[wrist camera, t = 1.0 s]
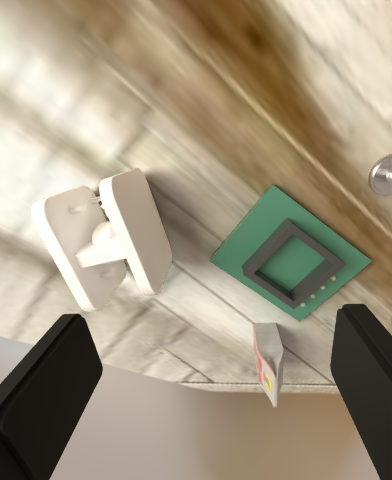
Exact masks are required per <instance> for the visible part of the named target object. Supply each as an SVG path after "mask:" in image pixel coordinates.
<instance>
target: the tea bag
mask: <svg viewBox="0 0 392 480" xmlns="http://www.w3.org/2000/svg"><path fill="white" fill-rule="evenodd" d="M254 354H255V361H256V367H257V374H258V380H259V383H260V385H261V386H262V388H263V389H264V391H265V392H266V394H267V395H268V396H269V398H270V400H271V402H272V404H273V407H275V404H276V407H277V400H278V396H279V392H280V389H281V386H282V383H283V358H284V350H283V346H282V343H281V339H280V336H279V333H278V329H277V326H276V323H254Z"/></svg>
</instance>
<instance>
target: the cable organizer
mask: <svg viewBox="0 0 392 480" xmlns="http://www.w3.org/2000/svg"><path fill="white" fill-rule="evenodd" d="M99 191H100V196H98V197H96V196H95V194H94V193H93V191H92V190H91V189H90V188H89V187H87V186H81V187H78V188H74V189H71V190H69V191H66V192H63V193H60V194H57V195H54V196H51V197H48V198H45V199H42V200H40V201H37V202H35V203H34V204H33V206H32V211H31V213H32V219H33V222H34V224H35V227H36V229H37V230H38V232H39V234H40V236H41V237H42V239H43V241H44V243H45V245H46V246H47V250H49V252H50V254H51V256H52V257H53V259H54V261H55V263H56V264H57V266H58V268H59V270H60V272H61V273H62V275H63V277H64V279H65V281H66V282H67V284H68V286H69V288H70V290H71V291H72V293H73V295H74V297H75V299H76V301H77V302H78V304H79V305H80V307H81V308H82V309H83V310H84V311H86V312H94V311H100V310H103V309H104V308H105V306H106V305H107V303H108V302H109V301H110V299H111V298H112V296H113V295H114V293H115V292H116V290H117V289H118V287H119V286H120V284H121V283H122V282H123V280H124V279H125V277H126V265H125V261H124V259H127V261H128V263H129V266H130V268H131V270H130V271H132V273H133V275H134V277H135V280H136V282H137V284H138V286H139V288H140V290H141V292H142V293H143V294H144V295H145V296H151V295H156V294H159V293H160V291H161V288H162V286H163V283H164V281H165V278H166V276H167V273H168V271H169V268H170V265H171V263H172V252H171V248H170V244H169V242H168V239H167V236H166V233H165V230H164V227H163V225H162V222H161V219H160V216H159V213H158V210H157V208H156V205H155V202H154V199H153V196H152V194H151V191H150V188H149V185H148V182H147V180H146V178H145V176H144V174H143V172H142V171H141V170H140V169H139V168H135V169H132V170H129V171H126V172H123V173H120V174H117V175H115V176H112V177H109V178H106V179H103V180H101V182H100V186H99ZM99 201H101V202H102V205H101V206H100V204H99ZM101 208H102V209H104V210H105V213H106V216H107V217H109V220H110V221H107V220H106V218H105V216H104V213H103V211H102V209H101Z"/></svg>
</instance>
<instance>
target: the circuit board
mask: <svg viewBox="0 0 392 480" xmlns="http://www.w3.org/2000/svg"><path fill="white" fill-rule="evenodd" d="M210 261H211V262H212V263H214V264H215V265H217V266H218V267H220V268H221V269H223V270H224V271H225V272H227V273H228V274H230V275H231V276H233V277H234V278H236V279H237V280H239V281H240V282H242V283H243V284H245V285H246V286H248V287H249V288H251V289H252V290H254V291H255V292H257V293H258V294H259V295H261V296H262V297H264V298H265V299H267V300H268V301H270V302H271V303H273V304H274V305H276V306H277V307H279V308H280V309H282V310H283V311H285V312H286V313H288V314H289V315H291V316H292V317H293V318H295V319H296V320H298V321H299V322H300V321H301V320H302V319H304V318H305V317H306V316H307V315H308V314H310V313H311V312H312V311H313V310H314V309H315V308H317V307H318V306H319V305H320V304H321V303H323V302H324V301H325V300H326V299H327V298H329V297H330V296H331V295H332V294H333V293H335V292H336V291H337V290H338V289H339V288H341V287H342V286H343V285H344V284H345V283H347V282H348V281H349V280H350V279H351V278H353V277H354V276H355V275H356V274H357V273H359V272H360V271H361V270H362V269H363V268H364V267H366V266H367V265H368V264H369V263H370V262H372V261H371V260H370V259H369V258H368V257H366V256H365V255H364V254H362V253H361V252H360V251H358V250H357V249H356V248H355V247H353V246H352V245H351V244H349V243H348V242H347V241H346V240H344V239H343V238H342V237H340V236H339V235H338V234H337V233H335V232H334V231H333V230H331V229H330V228H329V227H327V226H326V225H325V224H324V223H322V222H321V221H320V220H318V219H317V218H316V217H315V216H313V215H312V214H311V213H309V212H308V211H307V210H306V209H304V208H303V207H302V206H300V205H299V204H298V203H296V202H295V201H294V200H293V199H291V198H290V197H289V196H287V195H286V194H285V193H284V192H282V191H281V190H280V189H278V188H277V187H276V186H275V185H273V184H272V185H271V186H270V187H269V189H268V190H267V191H266V192H265V193H264V195H263V196H262V197H261V198H260V199H259V200H258V202H257V203H256V204H255V205H254V206H253V208H252V209H251V210H250V211H249V212H248V214H247V215H246V216H245V217H244V218H243V220H242V221H241V222H240V223H239V224H238V225H237V227H236V228H235V229H234V230H233V231H232V233H231V234H230V235H229V236H228V237H227V239H226V240H225V241H224V242H223V243H222V245H221V246H220V247H219V248H218V249H217V251H216V252H215V253H214V254H213V255H212V256H211V258H210Z"/></svg>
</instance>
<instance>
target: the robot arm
mask: <svg viewBox="0 0 392 480" xmlns="http://www.w3.org/2000/svg"><path fill="white" fill-rule="evenodd" d="M330 367H331V373H332V376H333V378H334V380H335V383H336V385H337V387H338V389H339V391H340V393H341V395H342V397H343V400H344V402H345V404H346V406H347V408H348V410H349V413H350V414H351V417H352V419H353V421H354V423H355V426H356V428H357V430H358V432H359V434H360V436H361V438H362V440H363V443H364V445H365V447H366V449H367V451H368V454H369V456H370V458H371V460H372V462H373V464H374V466H375V469H376V471H377V473H378V475H379V477H380V479H381V480H392V336H391V334H390V333H389V332H388V331H387V330H386V329H385V327H384V326H383V325H382V324H381V323H380V321H379V320H378V319H377V318H376V317H375V316H374V314H373V313H372V312H371V311H370V310H369V309H368V307H367V306H366V305H364V304H345V305H343V307H342V309H338V311H337V317H336V325H335V333H334V340H333V348H332V356H331V364H330ZM102 370H103V367H102V363H101V361H100V358H99V355H98V353H97V350H96V347H95V344H94V342H93V339H92V336H91V334H90V331H89V328H88V326H87V323H86V320H85V318H83V317H82V316H81V315H80V314H64V315H62V316H61V317H60V318H59V319H58V320H57V321H56V322H55V323H54V324H53V326H52V327H51V328H50V329H49V330H48V331H47V332H46V333H45V335H44V336H43V337H42V338H41V339H40V340H39V341H38V342H37V344H36V345H35V346H34V347H33V348H32V349H31V350H30V351H29V353H28V354H27V355H26V356H25V357H24V358H23V359H22V360H21V361H20V363H19V364H18V365H17V366H16V367H15V368H14V369H13V371H12V372H11V373H10V374H9V375H8V376H7V377H6V378H5V379H4V381H3V382H2V383H1V384H0V480H49V479H50V477H51V475H52V473H53V471H54V469H55V467H56V465H57V463H58V461H59V459H60V457H61V455H62V453H63V451H64V449H65V447H66V445H67V443H68V441H69V439H70V437H71V435H72V433H73V431H74V429H75V427H76V425H77V423H78V421H79V419H80V417H81V415H82V413H83V411H84V409H85V407H86V405H87V403H88V401H89V399H90V397H91V395H92V393H93V391H94V389H95V387H96V385H97V383H98V381H99V379H100V377H101V375H102Z"/></svg>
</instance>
